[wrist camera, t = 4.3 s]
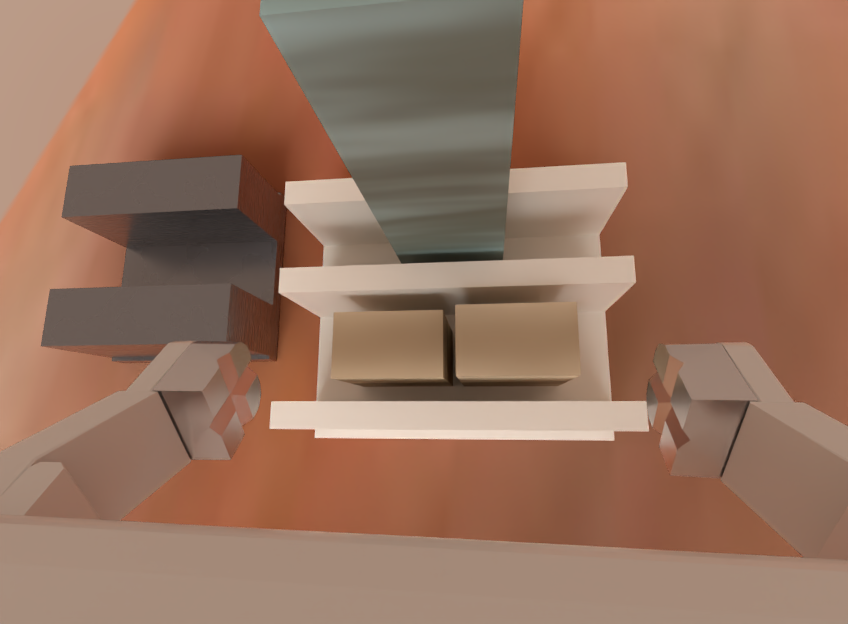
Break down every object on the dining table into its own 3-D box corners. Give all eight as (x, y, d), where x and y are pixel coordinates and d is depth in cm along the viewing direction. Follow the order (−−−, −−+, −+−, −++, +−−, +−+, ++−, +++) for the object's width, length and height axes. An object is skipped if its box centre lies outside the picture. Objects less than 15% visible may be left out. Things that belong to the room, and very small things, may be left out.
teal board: (501, 281, 28) (524, -11, 9) (413, 284, 29) (259, 15, 10) (500, 248, 29) (520, -102, 9) (413, 251, 30) (266, -70, 10)
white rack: (610, 439, 27) (650, 446, 20) (320, 437, 29) (268, 442, 22) (593, 211, 30) (624, 150, 23) (330, 223, 32) (286, 170, 25)
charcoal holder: (276, 361, 30) (225, 347, 24) (123, 362, 32) (40, 350, 26) (286, 199, 32) (242, 151, 27) (143, 207, 34) (70, 162, 28)
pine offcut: (558, 386, 27) (581, 375, 20) (464, 386, 28) (455, 375, 21) (555, 330, 28) (576, 301, 21) (463, 332, 28) (454, 304, 21)
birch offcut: (453, 386, 28) (443, 377, 22) (363, 386, 28) (331, 378, 22) (452, 332, 28) (442, 309, 22) (365, 333, 29) (333, 312, 23)
